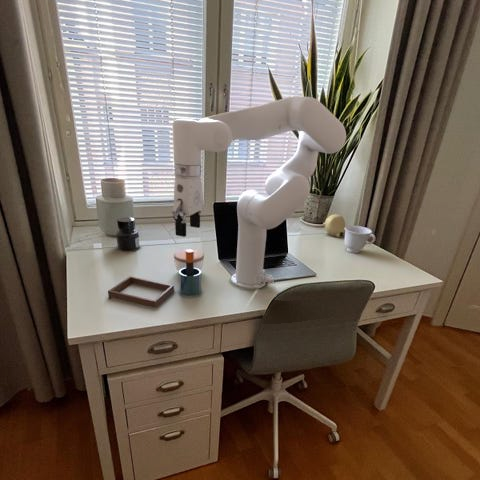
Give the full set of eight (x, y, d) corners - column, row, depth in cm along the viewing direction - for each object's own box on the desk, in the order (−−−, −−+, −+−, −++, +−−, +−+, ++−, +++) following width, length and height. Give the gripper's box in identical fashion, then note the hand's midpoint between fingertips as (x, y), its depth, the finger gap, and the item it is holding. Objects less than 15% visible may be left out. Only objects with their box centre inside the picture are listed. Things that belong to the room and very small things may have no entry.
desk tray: (174, 292, 115) (173, 285, 114) (155, 309, 105) (155, 301, 104) (130, 283, 119) (129, 276, 118) (108, 298, 109) (107, 291, 108)
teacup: (362, 259, 151) (368, 237, 146) (334, 249, 161) (339, 227, 155) (377, 254, 158) (383, 232, 153) (349, 244, 168) (354, 223, 162)
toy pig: (330, 244, 177) (348, 234, 170) (317, 224, 175) (336, 212, 168) (335, 238, 184) (352, 228, 177) (323, 219, 182) (341, 208, 175)
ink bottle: (143, 249, 146) (140, 221, 139) (122, 253, 141) (118, 224, 135) (135, 242, 152) (132, 215, 146) (114, 245, 148) (111, 217, 141)
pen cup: (204, 289, 118) (204, 269, 114) (195, 298, 112) (195, 277, 108) (185, 286, 120) (184, 265, 116) (176, 294, 114) (175, 273, 110)
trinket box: (206, 279, 125) (206, 254, 120) (176, 281, 122) (175, 256, 117) (200, 267, 134) (200, 243, 129) (172, 269, 131) (171, 245, 126)
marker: (195, 289, 116) (194, 250, 109) (192, 293, 114) (191, 252, 107) (188, 288, 117) (187, 248, 110) (185, 291, 115) (184, 251, 108)
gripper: (186, 176, 88) (186, 241, 97) (211, 168, 102) (210, 225, 111) (159, 173, 90) (163, 237, 99) (188, 165, 104) (189, 222, 113)
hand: (188, 231), depth 105 cm, fingers open, 9 cm apart
